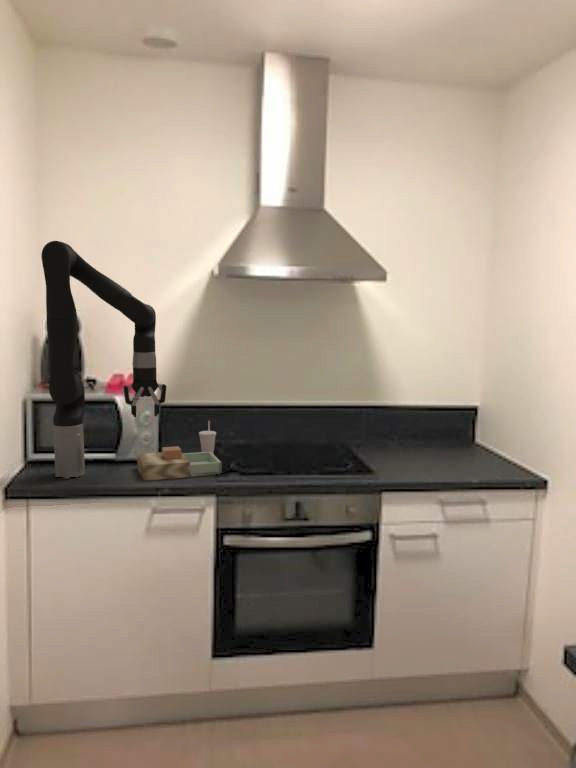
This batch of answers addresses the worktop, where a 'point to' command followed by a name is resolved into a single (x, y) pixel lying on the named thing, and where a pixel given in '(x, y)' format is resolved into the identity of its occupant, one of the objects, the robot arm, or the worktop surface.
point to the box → (203, 464)
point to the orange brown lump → (171, 453)
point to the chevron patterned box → (162, 467)
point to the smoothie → (207, 440)
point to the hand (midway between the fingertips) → (145, 416)
